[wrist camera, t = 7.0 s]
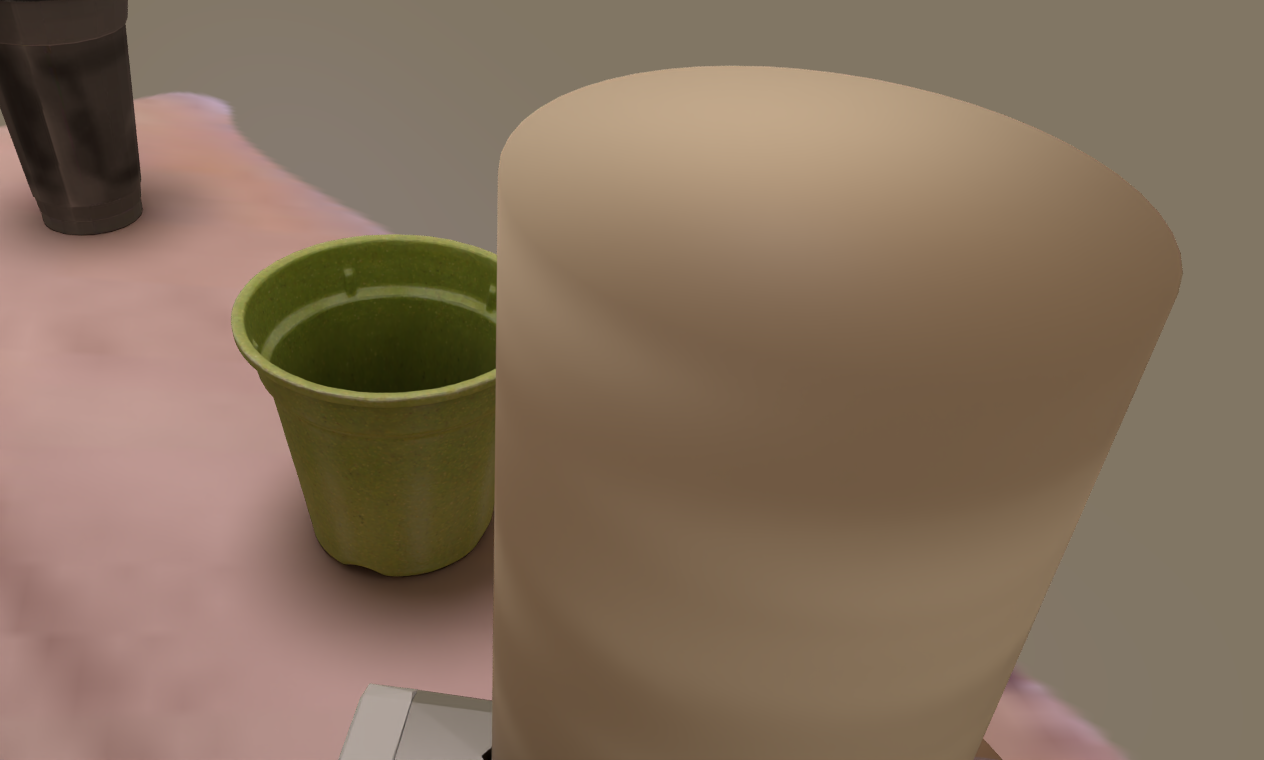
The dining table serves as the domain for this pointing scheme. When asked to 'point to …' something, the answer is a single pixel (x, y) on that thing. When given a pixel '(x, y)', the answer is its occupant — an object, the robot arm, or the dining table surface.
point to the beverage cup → (72, 110)
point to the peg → (795, 410)
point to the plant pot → (383, 391)
